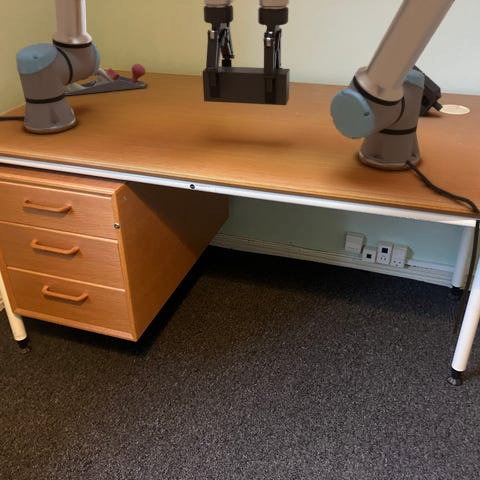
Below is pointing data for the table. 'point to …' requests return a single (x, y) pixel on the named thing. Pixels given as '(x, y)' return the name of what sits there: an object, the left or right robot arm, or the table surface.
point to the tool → (429, 94)
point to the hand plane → (108, 82)
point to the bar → (247, 85)
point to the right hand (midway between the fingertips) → (272, 99)
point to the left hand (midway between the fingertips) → (221, 90)
